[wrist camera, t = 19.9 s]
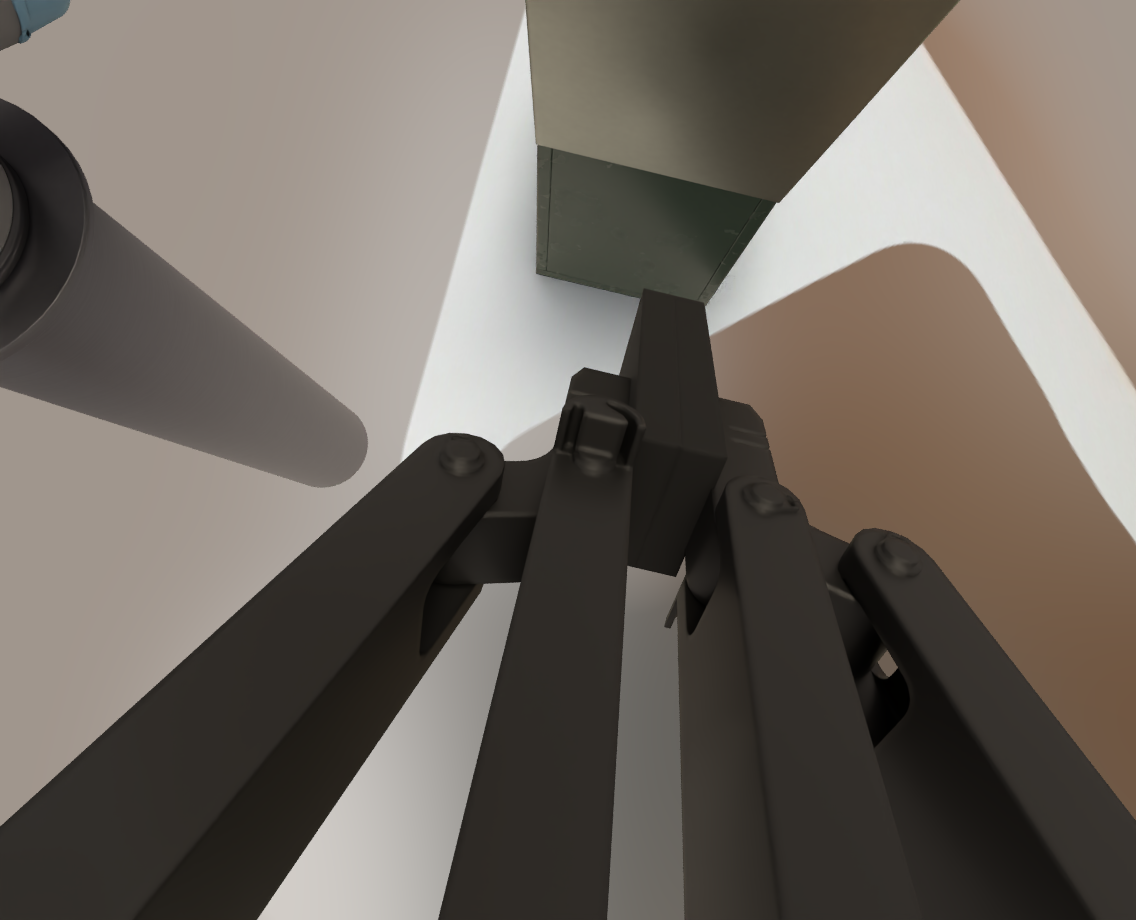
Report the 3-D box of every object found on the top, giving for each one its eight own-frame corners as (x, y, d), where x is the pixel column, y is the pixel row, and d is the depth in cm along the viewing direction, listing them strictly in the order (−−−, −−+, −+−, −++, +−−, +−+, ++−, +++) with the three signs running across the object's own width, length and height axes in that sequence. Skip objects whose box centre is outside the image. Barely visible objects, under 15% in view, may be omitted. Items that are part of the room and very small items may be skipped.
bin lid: (518, -184, 16) (512, -157, 16) (1000, -63, 16) (994, -36, 16) (538, 131, 31) (535, 144, 31) (782, 190, 32) (779, 203, 32)
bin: (578, 101, 49) (598, -94, 34) (736, 140, 49) (822, -38, 34) (535, 273, 46) (536, 143, 32) (701, 313, 47) (777, 201, 32)
